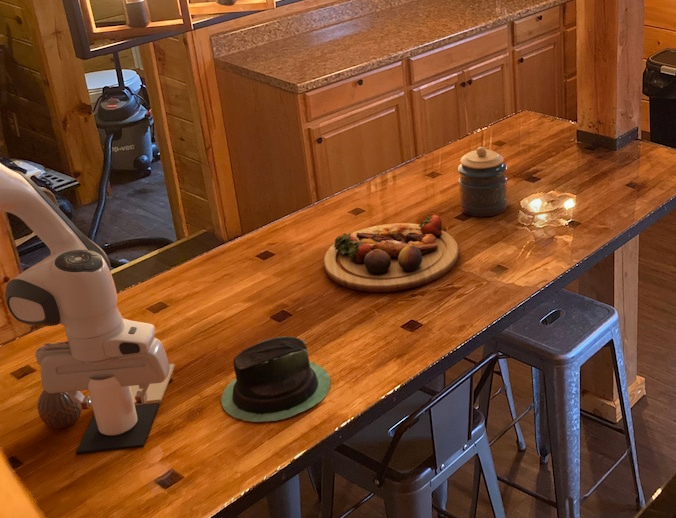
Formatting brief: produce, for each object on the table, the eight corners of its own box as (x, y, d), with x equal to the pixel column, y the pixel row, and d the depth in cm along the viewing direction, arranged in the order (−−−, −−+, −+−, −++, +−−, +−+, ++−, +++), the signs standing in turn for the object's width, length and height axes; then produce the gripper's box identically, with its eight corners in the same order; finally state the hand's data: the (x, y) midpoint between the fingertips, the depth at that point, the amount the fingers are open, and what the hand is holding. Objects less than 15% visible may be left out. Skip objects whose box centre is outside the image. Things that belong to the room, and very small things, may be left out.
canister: (508, 197, 264) (506, 137, 257) (507, 217, 252) (505, 156, 245) (461, 198, 263) (458, 138, 256) (458, 218, 251) (454, 157, 244)
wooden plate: (427, 220, 250) (424, 191, 247) (481, 270, 226) (480, 239, 223) (306, 251, 234) (302, 221, 231) (351, 308, 210) (347, 275, 206)
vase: (93, 416, 175) (83, 376, 172) (60, 438, 169) (49, 397, 166) (68, 406, 178) (57, 367, 174) (34, 427, 172) (22, 387, 168)
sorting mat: (76, 454, 165) (75, 451, 165) (116, 371, 188) (115, 368, 188) (143, 447, 167) (142, 444, 167) (175, 365, 190) (174, 362, 189)
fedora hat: (296, 342, 196) (356, 382, 184) (229, 416, 188) (288, 462, 176) (256, 302, 185) (317, 341, 174) (184, 378, 177) (243, 424, 166)
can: (107, 414, 174) (93, 360, 170) (143, 413, 175) (131, 358, 170) (92, 437, 169) (77, 381, 164) (130, 436, 169) (116, 380, 164)
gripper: (26, 355, 160) (45, 422, 165) (155, 343, 163) (169, 409, 169) (39, 335, 165) (57, 400, 171) (163, 324, 169) (177, 388, 174)
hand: (114, 404), depth 170 cm, fingers open, 8 cm apart
